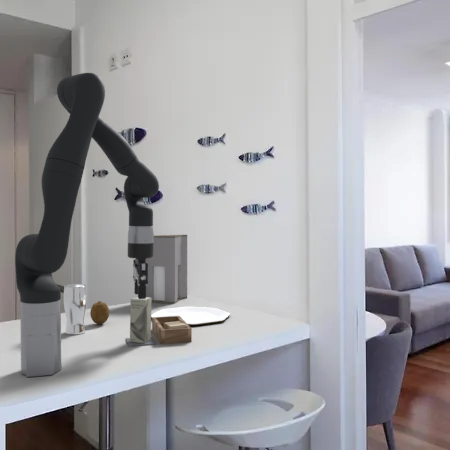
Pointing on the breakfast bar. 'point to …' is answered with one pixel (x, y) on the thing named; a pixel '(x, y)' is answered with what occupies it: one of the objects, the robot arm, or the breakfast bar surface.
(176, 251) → the cabinet
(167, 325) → the offcut
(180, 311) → the plate
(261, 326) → the breakfast bar surface
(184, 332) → the wooden tray
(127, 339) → the mat
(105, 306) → the fruit
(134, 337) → the box
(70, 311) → the beer glass
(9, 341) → the breakfast bar surface
